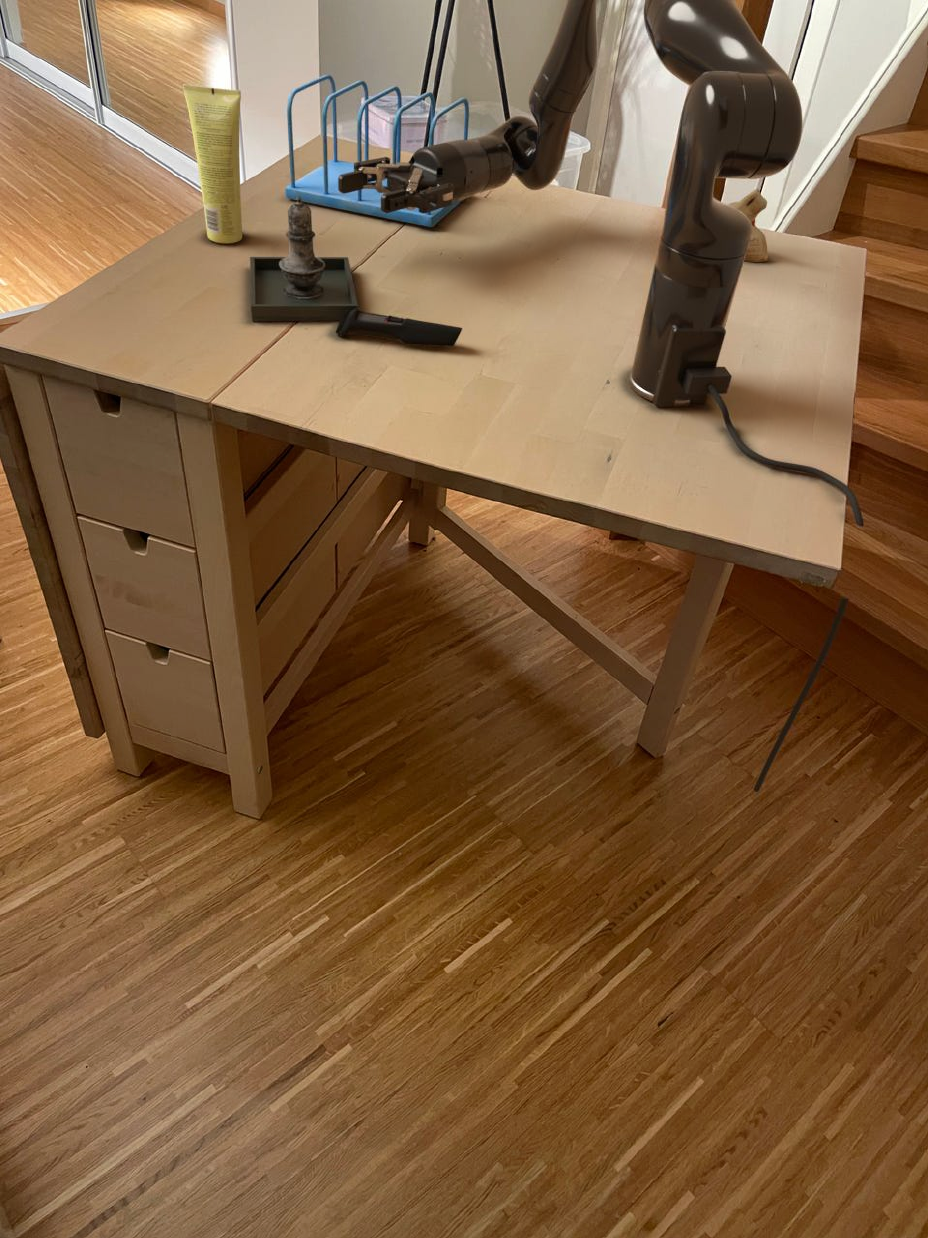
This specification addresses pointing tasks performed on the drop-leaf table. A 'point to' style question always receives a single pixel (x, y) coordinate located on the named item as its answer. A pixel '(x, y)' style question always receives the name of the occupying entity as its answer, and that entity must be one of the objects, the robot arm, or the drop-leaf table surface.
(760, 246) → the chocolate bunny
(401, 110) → the file sorter
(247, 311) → the drop-leaf table surface
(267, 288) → the tray
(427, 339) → the electric trimmer
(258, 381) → the drop-leaf table surface
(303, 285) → the salt shaker
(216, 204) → the tube
